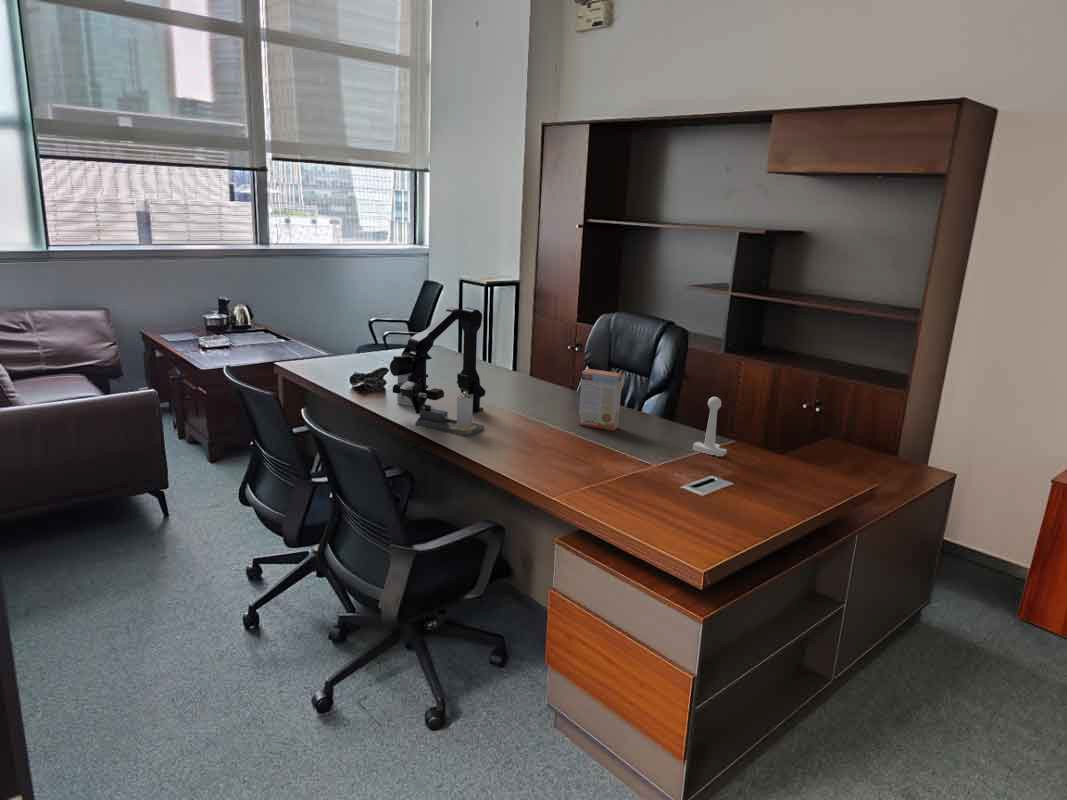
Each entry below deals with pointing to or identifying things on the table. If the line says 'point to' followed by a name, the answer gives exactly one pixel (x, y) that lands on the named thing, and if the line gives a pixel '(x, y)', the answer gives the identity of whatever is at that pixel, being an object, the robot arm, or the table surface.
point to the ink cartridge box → (400, 398)
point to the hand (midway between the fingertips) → (418, 413)
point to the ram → (433, 414)
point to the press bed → (449, 426)
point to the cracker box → (600, 399)
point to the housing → (464, 410)
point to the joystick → (711, 431)
